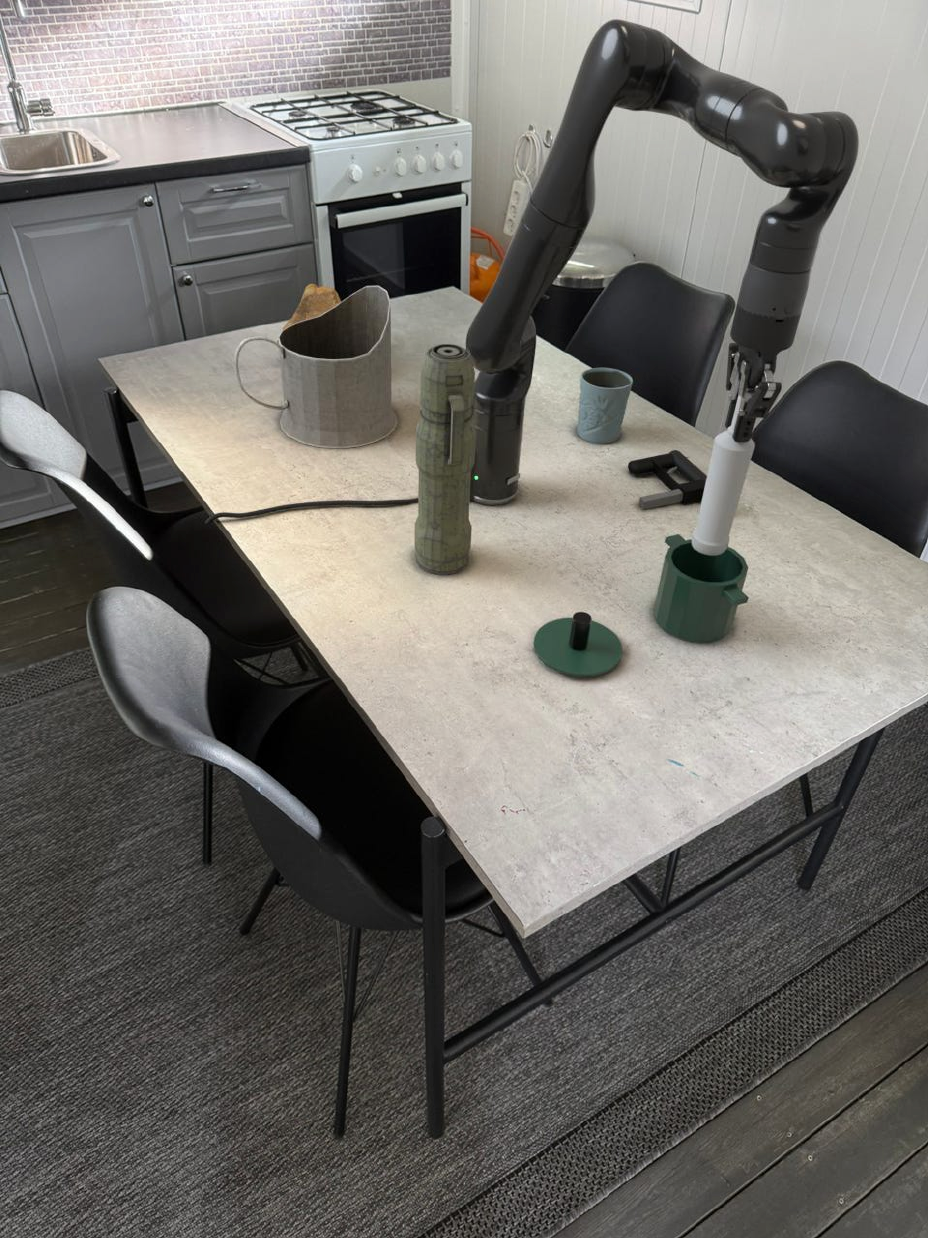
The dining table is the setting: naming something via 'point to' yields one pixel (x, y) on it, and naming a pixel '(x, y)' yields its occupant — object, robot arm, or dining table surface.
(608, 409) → the blue embossed cup
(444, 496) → the thermos
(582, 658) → the lid
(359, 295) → the pitcher
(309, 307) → the rough brown rock
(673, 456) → the black staple gun
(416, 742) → the dining table surface
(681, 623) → the pot
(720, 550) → the bottle
